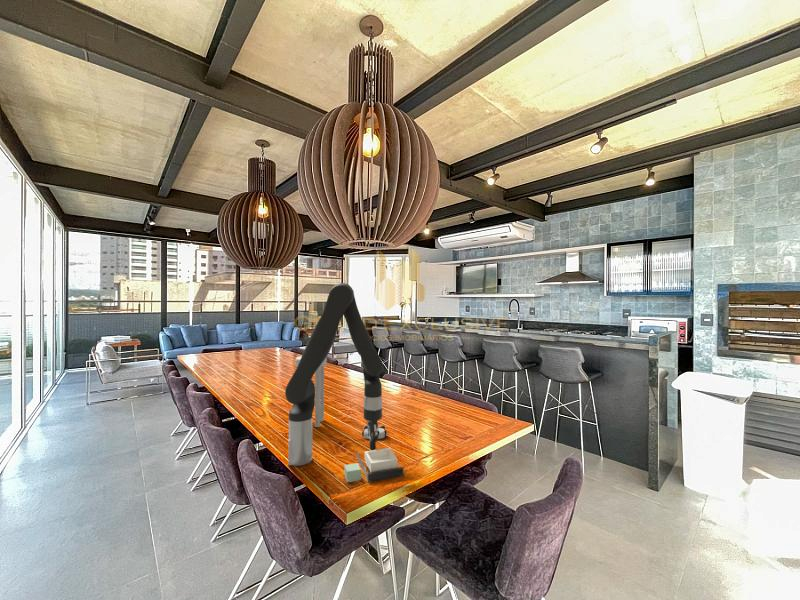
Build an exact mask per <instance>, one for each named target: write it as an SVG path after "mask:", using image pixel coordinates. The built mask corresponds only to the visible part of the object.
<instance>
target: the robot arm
mask: <svg viewBox="0 0 800 600" xmlns="http://www.w3.org/2000/svg"><path fill="white" fill-rule="evenodd" d="M343 316H344V319H345V322H346V325H347V329H348V332H349V335H350V338H351V340H352V341H351V342H352V343H353V345H354V347H355V350H356V352H357V353H358V355H359V356H360V358H361V360H362V362H363V365H362V371H363V382H364V387H363V389H364V396H363V420H365V421H366V426H367V429H368V436H369V439H368V440H369V451H371V450H377V449H376V448H377V447H376V445H377V444H376V443H377V441H378V440H379V439H378V437H379V431H378V428H379V426H380V425H379V423H378V421H381V420H382V418H383V397H382V391H383V388H382V381H381V380H380V379H381V378H380V375H381V374H382V373H383V371H384V364H383V360H382V359H381V357H380V355H379V353H378V352H377V350H376V348H375V346H374V344H373V343H374V342H373V340H372V338H371V336H370V335H369V332H368V329H367V327H366V325H365V323H364V321H363V319H362V317H361V314H360V312H359V309H358V305H357V301H356V298H355V291H354V289H353V287H352V286H351V285H349V284H348V283H345V282H340V283H337V284H335V285H334V286H332V287H331V288H330V291H329V292H328V295H327V299H326V303H325V305H324V309H323V311H322V314H321V316H320V318H319V319H318V321H317V323H316V325H315V326H314V329H313V330H312V332H311V334H310V336H309V339H308V341H307V344H306V346H305V349H304V351H303V353H302V355H301V356H302V357H301V360H300V362H299V364H298V367H297V366H296V368H295V370H294V372H293V374H292V376H291V378H290V379H289V381H288V382H287V384H286V387H285V390H284V391H285V392H284V393H285V394H284V395H285V399H286V401H288V403H290V404H292V406H291V409H289V412H288V466H297V467H298V466H300V467H301V466H305V465H308V464H310V463H311V462H312V460H313V413H314V411H315V382H314V380H313V379H312V378H313V377H314V376H315V372H316V370H317V369H318V368H319V366H320V365H321V364H322V363H323V361H324V360H325V358H326V357H328V355H329V353H330V350H331V349H332V347H333V345H334V344H333V343H334V342H335V340H336V336H337V332H338V329H339V325H340V323H341V320H342V317H343Z"/></svg>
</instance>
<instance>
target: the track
mask: <svg viewBox="0 0 800 600" xmlns="http://www.w3.org/2000/svg"><path fill="white" fill-rule="evenodd" d="M355 455H356V458H357V459H358V460H357V461H358V463H359V466H360V468H361V470H363V473H364V475H365V478H366V480H367V483H372V482H379V481H384V480H389V479H390V480H391V479H397V478H401V477H404V467H403V466H399V467H398V468H392V469H387V470H381V471H375V472H370V471H369V472H368V471H367V468H366V466H365V465H364V462H363V461H362V458H361V456H360V455H359V453H355Z"/></svg>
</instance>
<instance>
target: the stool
mask: <svg viewBox="0 0 800 600" xmlns="http://www.w3.org/2000/svg"><path fill="white" fill-rule="evenodd" d="M301 357H302V355H301V356H297V357H296V358H294V362H295V363H294V366H295V367H296V368H297V367H298V364H299V362H300V360H301ZM327 357H328V356H327ZM327 357H326V358H325V360H324V361H323V363H322V364H321V365H320V366H319V368H318V369H317V370H316V372H315V373H314V377H315V378H314V386H315V405H314V428H315V427H320V428H321V422H324V421H325V414H324V413H325V366H326V365H327V363H328V362H327V361H328V360H327V359H328V358H327Z"/></svg>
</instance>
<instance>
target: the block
mask: <svg viewBox="0 0 800 600" xmlns="http://www.w3.org/2000/svg"><path fill="white" fill-rule="evenodd" d="M344 477H345V480H346V483H351V482H358V481H362V467H361V465H360V463H359V462H356V463H349V464H344Z"/></svg>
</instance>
